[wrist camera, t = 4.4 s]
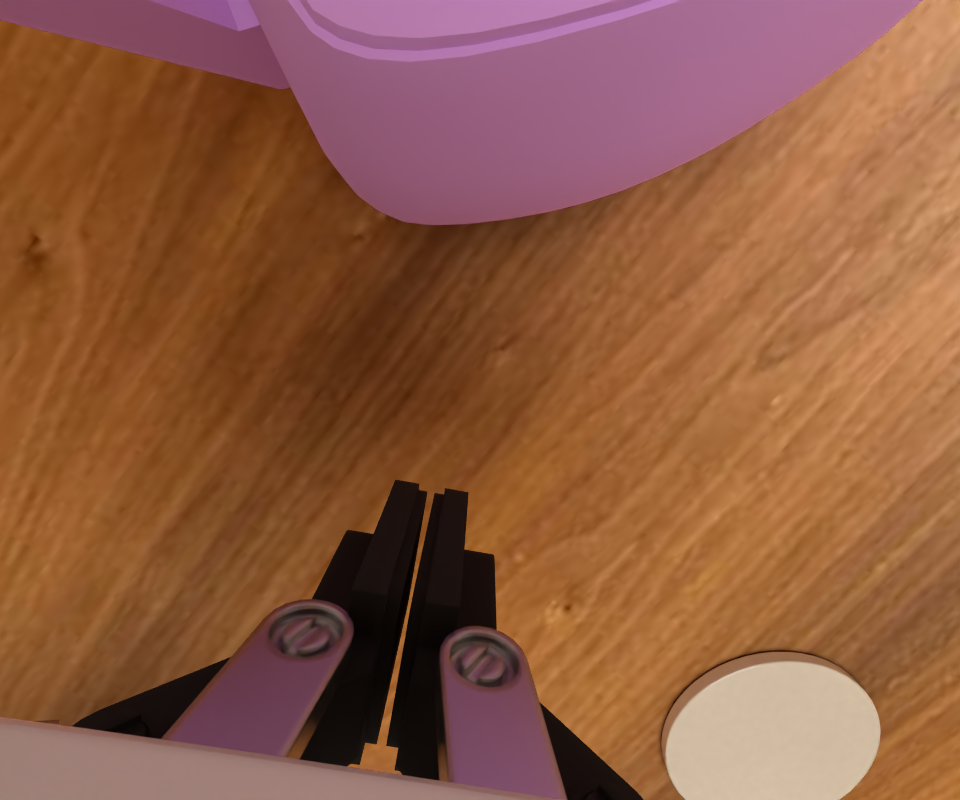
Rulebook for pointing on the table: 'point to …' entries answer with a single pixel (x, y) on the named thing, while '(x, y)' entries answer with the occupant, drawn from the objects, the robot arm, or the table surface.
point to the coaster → (771, 731)
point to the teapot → (498, 82)
